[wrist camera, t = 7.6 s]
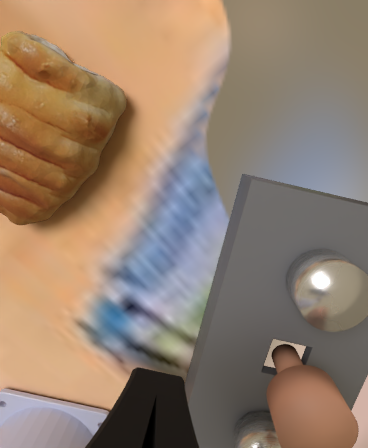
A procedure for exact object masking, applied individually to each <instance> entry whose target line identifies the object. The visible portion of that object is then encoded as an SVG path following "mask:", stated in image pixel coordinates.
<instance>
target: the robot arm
mask: <svg viewBox="0 0 368 448" xmlns="http://www.w3.org/2000/svg"><path fill="white" fill-rule="evenodd" d="M101 422H102V423H101ZM0 448H199V445H198V442H197V438H196V435H195V431H194V427H193V423H192V419H191V415H190V411H189V407H188V402H187V397H186V391H185V385H184V380H183V379H182V377H180V376H175V375H170V374H166V373H161V372H157V371H152V370H148V369H143V368H138V367H137V368H135V369H134V370H133V371H132V373H131V376H130V378H129V380H128V382H127V384H126V386H125V388H124V390H123V391H122V393H121V395H120V397H119V398H118V400H117V401H116V403H115V405H114V406H113V408H112V410H111V411H110V413H109V412H108V411H107V410H103V409H99V408H94V407H89V406H85V405H80V404H75V403H71V402H66V401H62V400H57V399H52V398H48V397H43V396H38V395H34V394H29V393H24V392H20V391H15V390H11V389H2V390H1V391H0Z"/></svg>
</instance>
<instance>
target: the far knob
mask: <svg viewBox="0 0 368 448" xmlns="http://www.w3.org/2000/svg"><path fill="white" fill-rule="evenodd" d="M233 436H234V444H235V448H281V446H280V444H279V441H278V438H277V434H276V431H275V427H274V423H273V420H272V416H271V413H270V412H266V411H257V412H252V413H250V412H247V414H246V415H245V416H243V417H242V418H241V419H240V420H239V421H238V422H237V423H236V425H235V427H234V431H233Z"/></svg>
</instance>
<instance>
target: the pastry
mask: <svg viewBox="0 0 368 448" xmlns="http://www.w3.org/2000/svg"><path fill="white" fill-rule="evenodd" d="M126 103H127V99H126V96H125V94H124V91H123V90H122V89H121V88H120V87H118V86H117V85H115V84H114V83H113V82H111V81H110V80H108V79H106V78H105V77H103V76H101V75H98V74H97V73H94V72H92V71H90V70H88V69H86V68H85V67H82V66H79V65H77V64H74V63H72V62H71V61H70V60H69V58H68V57H67V56H66V54H65V53H64V52H63V51H62V50H61V49H60V48H59V47H57V46H56V45H54V44H52V43H50V42H48V41H46V40H45V39H43V38H41V37H38V36H36V35H30V34H27V33H24V32H22V31H15V32H9V33H7V34H6V35H4V36H2V37H1V46H0V213H2V214H3V215H5V216H7V217H8V219H9V220H10V221H11V222H12V223H14V224H17V225H26V224H30V223H35V222H39V221H44V220H47V219H49V218H50V217H51V216H52V215H53V213H54V212H55V211H56V210H57V209H58V208H59V207H60V206H61V205H62V204H63V203H65V202H66V201H68V200H69V199H71V198H72V197H73V196H74V194H75V193H76V192H77V190H78V189H79V187H80V186H81V185H82V183H83V182H84V181H85V180H86V179H87V178H89V176H91V175H92V174H94V172H95V171H96V169H97V168H98V166H99V160H100V154H101V152H102V150H103V148H104V147H105V145H106V144H107V142H108V140H109V139H110V138H111V136H112V134H113V132H114V129H115V126H116V123H117V120H118V118H119V117H120V116H121V115H122V113H123V112H124V111H125V109H126Z"/></svg>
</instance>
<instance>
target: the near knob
mask: <svg viewBox="0 0 368 448" xmlns="http://www.w3.org/2000/svg"><path fill="white" fill-rule="evenodd" d="M286 287H287V291H288V293H289V295H290V296H291V298H292V299H293V301H294V303H295V304H296V306H297V307H298V309H299V310H300V312H301V314H302V315H303V317H304V318H305V320H306V321H307V322H308V323H309V324H311V325H312V326H314V327H315V328H318V329H320V330H323V331H329V332H337V331H344V330H347V329H350V328H352V327H354V326H356V325H358V324H359V323H360V322H362V321H363V320H364V319H365V318H366V317H367V316H368V275H367V274H366V273H365V272H364V271H362V270H361V269H360V268H358V267H357V266H356V265H354V264H353V263H352V262H350V261H349V260H348V259H346V258H345V257H344V256H342V255H341V254H339V253H338V252H335V251H333V250H330V249H314V250H310V251H307V252H305V253H303V254H302V255H300V256H299V257H298V258H296V259H295V260H294V261H293V263H292V264H291V265H290V267H289V269H288V271H287V275H286Z"/></svg>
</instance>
